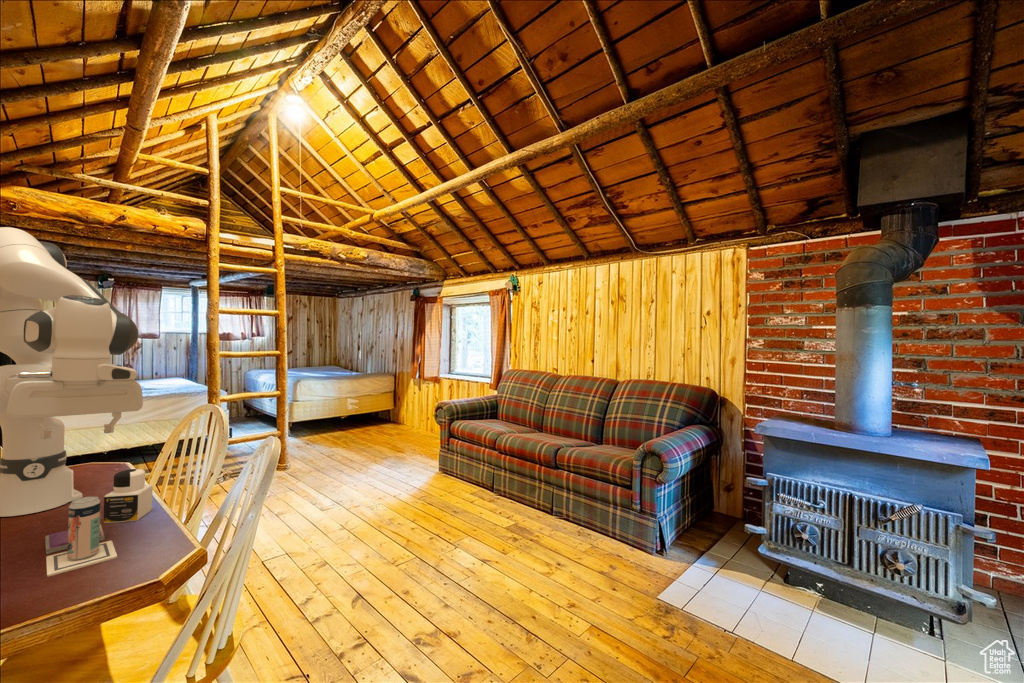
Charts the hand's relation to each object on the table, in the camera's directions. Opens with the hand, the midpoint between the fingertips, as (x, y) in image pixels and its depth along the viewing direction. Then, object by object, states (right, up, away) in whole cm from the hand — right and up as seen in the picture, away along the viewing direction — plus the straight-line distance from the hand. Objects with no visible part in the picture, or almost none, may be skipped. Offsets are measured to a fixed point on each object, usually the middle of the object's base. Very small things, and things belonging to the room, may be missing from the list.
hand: (78, 435), depth 90 cm
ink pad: (-7, -26, +6) cm, 27 cm away
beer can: (+2, -26, -1) cm, 26 cm away
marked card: (+2, -26, -1) cm, 26 cm away
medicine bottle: (-7, -26, +19) cm, 33 cm away
